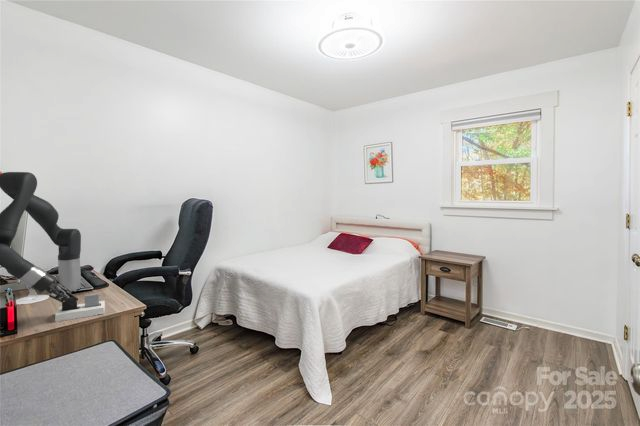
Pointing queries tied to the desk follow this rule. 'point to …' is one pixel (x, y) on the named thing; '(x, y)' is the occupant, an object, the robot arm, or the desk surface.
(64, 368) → the desk surface
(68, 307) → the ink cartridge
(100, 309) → the white slotted tray
